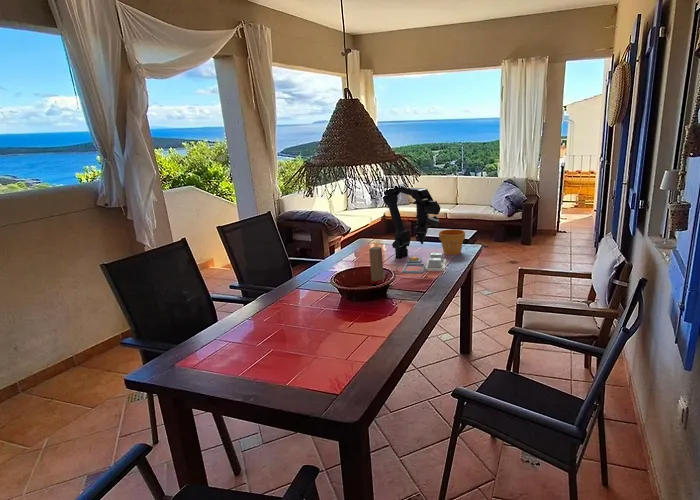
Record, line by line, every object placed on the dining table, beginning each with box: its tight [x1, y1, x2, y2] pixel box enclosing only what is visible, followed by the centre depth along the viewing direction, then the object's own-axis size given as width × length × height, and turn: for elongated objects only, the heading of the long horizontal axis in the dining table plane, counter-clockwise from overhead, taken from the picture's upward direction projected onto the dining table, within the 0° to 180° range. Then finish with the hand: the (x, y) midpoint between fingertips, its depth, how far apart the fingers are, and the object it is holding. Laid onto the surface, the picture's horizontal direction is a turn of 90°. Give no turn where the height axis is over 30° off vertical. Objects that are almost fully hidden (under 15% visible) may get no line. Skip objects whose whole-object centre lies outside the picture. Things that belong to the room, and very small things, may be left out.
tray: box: [402, 262, 427, 274], centre depth 220 cm, size 10×13×2 cm
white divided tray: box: [424, 258, 448, 272], centre depth 222 cm, size 10×17×2 cm, turn 164°
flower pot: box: [438, 228, 466, 256], centre depth 241 cm, size 14×14×13 cm
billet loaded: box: [429, 252, 444, 262], centre depth 226 cm, size 6×4×5 cm, turn 74°
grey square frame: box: [406, 257, 423, 263], centre depth 231 cm, size 7×7×2 cm
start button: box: [410, 256, 419, 261], centre depth 231 cm, size 4×4×3 cm
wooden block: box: [369, 246, 386, 281], centre depth 202 cm, size 9×4×18 cm, turn 59°
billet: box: [427, 257, 441, 268], centre depth 217 cm, size 6×4×5 cm, turn 74°
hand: (423, 241), depth 228 cm, fingers open, 9 cm apart
